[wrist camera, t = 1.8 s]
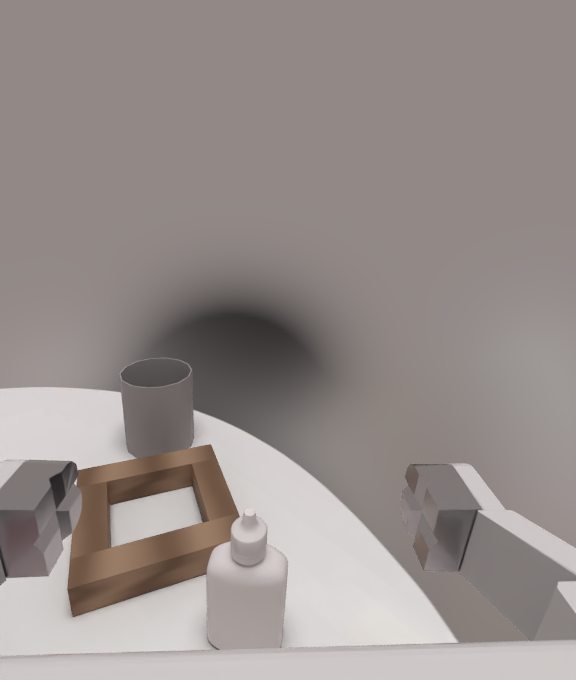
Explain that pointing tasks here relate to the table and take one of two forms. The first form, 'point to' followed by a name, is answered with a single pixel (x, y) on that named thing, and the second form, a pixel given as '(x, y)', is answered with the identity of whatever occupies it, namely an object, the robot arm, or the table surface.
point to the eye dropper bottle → (246, 588)
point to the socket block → (154, 552)
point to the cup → (157, 406)
